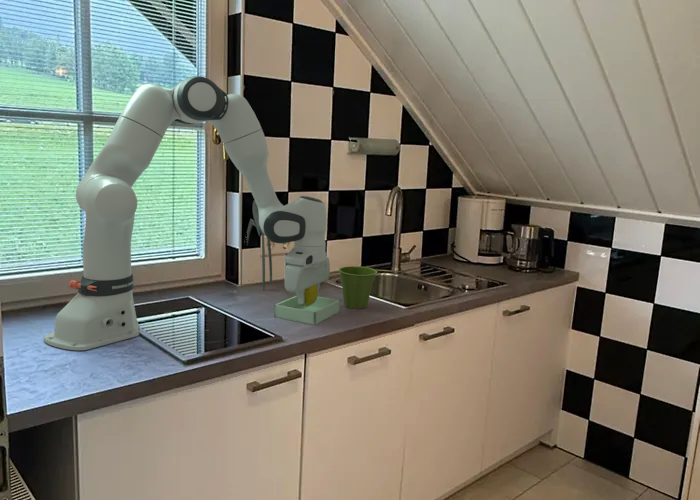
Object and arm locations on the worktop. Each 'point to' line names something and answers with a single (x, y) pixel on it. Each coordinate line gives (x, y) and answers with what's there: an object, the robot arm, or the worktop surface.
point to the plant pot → (357, 285)
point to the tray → (307, 310)
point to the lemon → (310, 295)
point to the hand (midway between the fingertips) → (307, 300)
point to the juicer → (254, 222)
